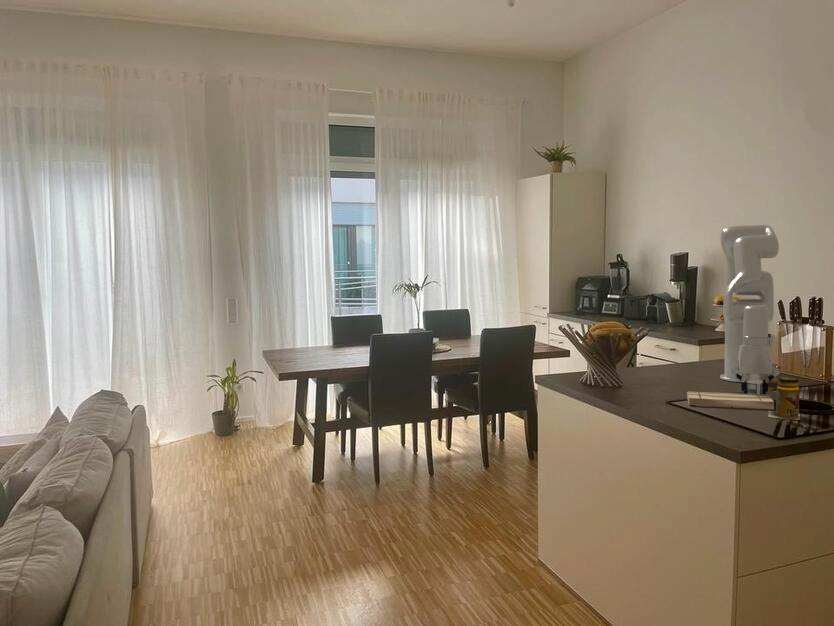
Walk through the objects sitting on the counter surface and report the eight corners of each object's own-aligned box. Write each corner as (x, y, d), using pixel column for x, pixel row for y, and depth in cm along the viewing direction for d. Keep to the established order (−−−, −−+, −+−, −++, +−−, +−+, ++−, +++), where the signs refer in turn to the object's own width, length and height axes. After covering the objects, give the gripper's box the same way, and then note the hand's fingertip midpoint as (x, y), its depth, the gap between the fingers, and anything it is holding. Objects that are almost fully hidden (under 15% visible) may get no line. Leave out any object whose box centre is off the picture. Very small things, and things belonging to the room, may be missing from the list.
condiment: (800, 420, 189) (801, 381, 188) (768, 417, 193) (768, 379, 192) (799, 414, 195) (800, 376, 194) (768, 411, 200) (769, 374, 198)
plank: (687, 398, 220) (687, 391, 219) (768, 402, 211) (768, 394, 211) (689, 405, 210) (689, 397, 210) (773, 409, 202) (774, 401, 202)
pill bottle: (757, 396, 219) (757, 371, 219) (766, 400, 214) (766, 374, 213) (742, 397, 219) (742, 372, 218) (750, 400, 214) (751, 375, 213)
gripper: (781, 340, 215) (780, 392, 217) (726, 339, 221) (725, 389, 223) (786, 343, 208) (784, 397, 210) (728, 342, 214) (728, 394, 216)
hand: (754, 392), depth 217 cm, fingers closed on pill bottle, 5 cm apart
